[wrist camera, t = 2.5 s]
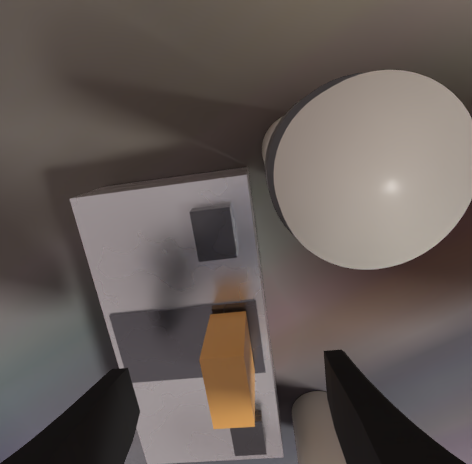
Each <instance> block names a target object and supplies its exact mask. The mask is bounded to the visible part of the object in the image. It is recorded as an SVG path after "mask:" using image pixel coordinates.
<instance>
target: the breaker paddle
mask: <svg viewBox="0 0 472 464" xmlns="http://www.w3.org/2000/svg"><path fill="white" fill-rule="evenodd" d="M199 361H200V366H201V371H202V375H203V380H204V385H205V390H206V395H207V400H208V405H209V409H210V414H211V419H212V424H213V429H226V428H242V427H255V369H254V362H253V355H252V349H251V342H250V335H249V329H248V322H247V315H246V311H242V312H231V313H221V314H210V318H209V322H208V326H207V330H206V334H205V338H204V342H203V346H202V351H201V355H200V359H199Z"/></svg>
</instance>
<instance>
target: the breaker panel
mask: <svg viewBox="0 0 472 464" xmlns="http://www.w3.org/2000/svg"><path fill="white" fill-rule="evenodd" d="M70 203H71V206H72V209H73V213H74V216H75V220H76V223H77V226H78V230H79V233H80V237H81V240H82V243H83V247H84V250H85V254H86V257H87V260H88V264H89V267H90V271H91V274H92V277H93V281H94V284H95V288H96V291H97V294H98V298H99V301H100V305H101V308H102V312H103V315H104V318H105V322H106V325H107V329H108V332H109V335H110V339H111V342H112V346H113V349H114V352H115V356H116V359H117V363H118V366H119V369H120V368H128V370H129V374H130V377H131V381H132V384H133V388H134V391H135V395H136V398H137V402H138V405H139V409H140V415H139V419H138V423H137V431H138V434H139V438H140V441H141V444H142V448H143V451H144V455H145V458H146V461H147V464H165V463H184V462H203V461H222V460H241V459H260V458H279V457H283V446H282V435H281V424H280V413H279V403H278V396H277V388H276V380H275V372H274V364H273V357H272V349H271V341H270V333H269V325H268V317H267V310H266V302H265V294H264V286H263V278H262V271H261V263H260V255H259V247H258V239H257V231H256V224H255V216H254V208H253V200H252V192H251V185H250V177H249V169H248V167H243V168H235V169H228V170H221V171H214V172H206V173H199V174H192V175H184V176H177V177H170V178H163V179H155V180H148V181H141V182H134V183H126V184H119V185H112V186H105V187H101V188H98V189H96V190H93V191H90V192H87V193H84V194H81V195H78V196H76V197H73V198H70ZM242 311H246V315H247V322H248V329H249V335H250V342H251V349H252V355H253V362H254V369H255V427H242V428H226V429H213V424H212V419H211V414H210V409H209V405H208V400H207V395H206V390H205V385H204V380H203V375H202V371H201V366H200V361H199V359H200V355H201V351H202V346H203V342H204V338H205V334H206V330H207V326H208V322H209V318H210V314H221V313H231V312H242Z"/></svg>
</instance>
